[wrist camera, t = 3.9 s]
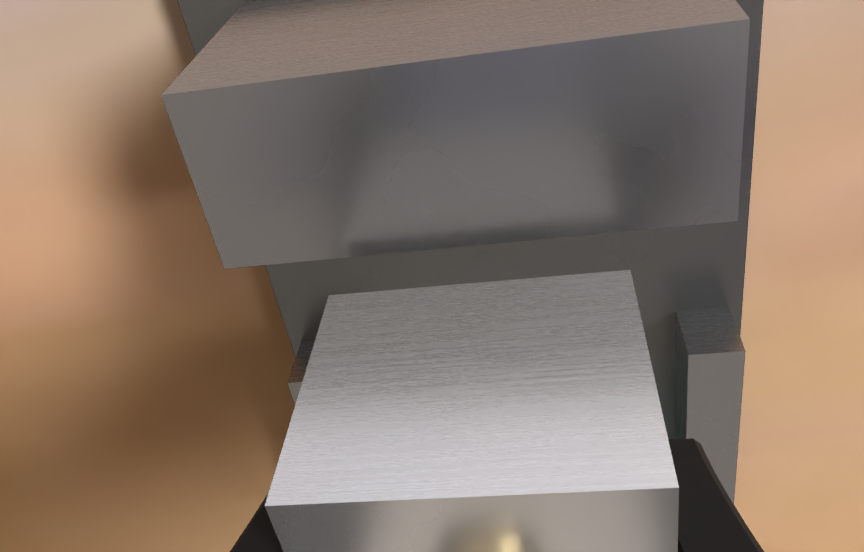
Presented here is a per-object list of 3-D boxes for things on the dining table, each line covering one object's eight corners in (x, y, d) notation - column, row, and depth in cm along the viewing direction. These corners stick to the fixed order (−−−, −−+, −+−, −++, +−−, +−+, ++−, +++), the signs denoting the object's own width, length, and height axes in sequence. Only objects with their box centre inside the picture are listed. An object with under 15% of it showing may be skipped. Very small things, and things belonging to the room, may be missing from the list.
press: (719, 526, 24) (770, 721, 20) (366, 539, 26) (335, 723, 21) (759, -121, 14) (882, -40, 10) (183, -32, 16) (48, 74, 11)
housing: (635, 481, 14) (687, 793, 10) (384, 492, 15) (337, 790, 11) (630, 269, 12) (698, 571, 8) (329, 295, 12) (241, 585, 8)
